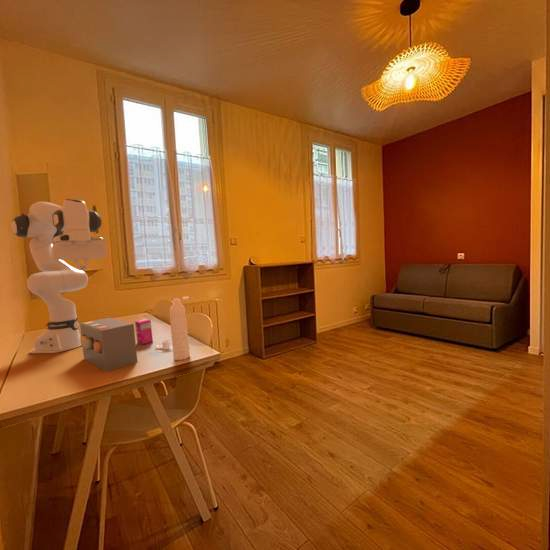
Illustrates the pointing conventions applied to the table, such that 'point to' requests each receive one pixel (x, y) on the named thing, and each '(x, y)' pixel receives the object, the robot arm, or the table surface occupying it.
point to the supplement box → (143, 332)
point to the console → (110, 343)
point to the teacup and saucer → (164, 346)
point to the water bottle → (179, 330)
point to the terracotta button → (97, 346)
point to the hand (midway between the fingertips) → (82, 269)
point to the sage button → (87, 344)
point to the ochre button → (83, 338)
